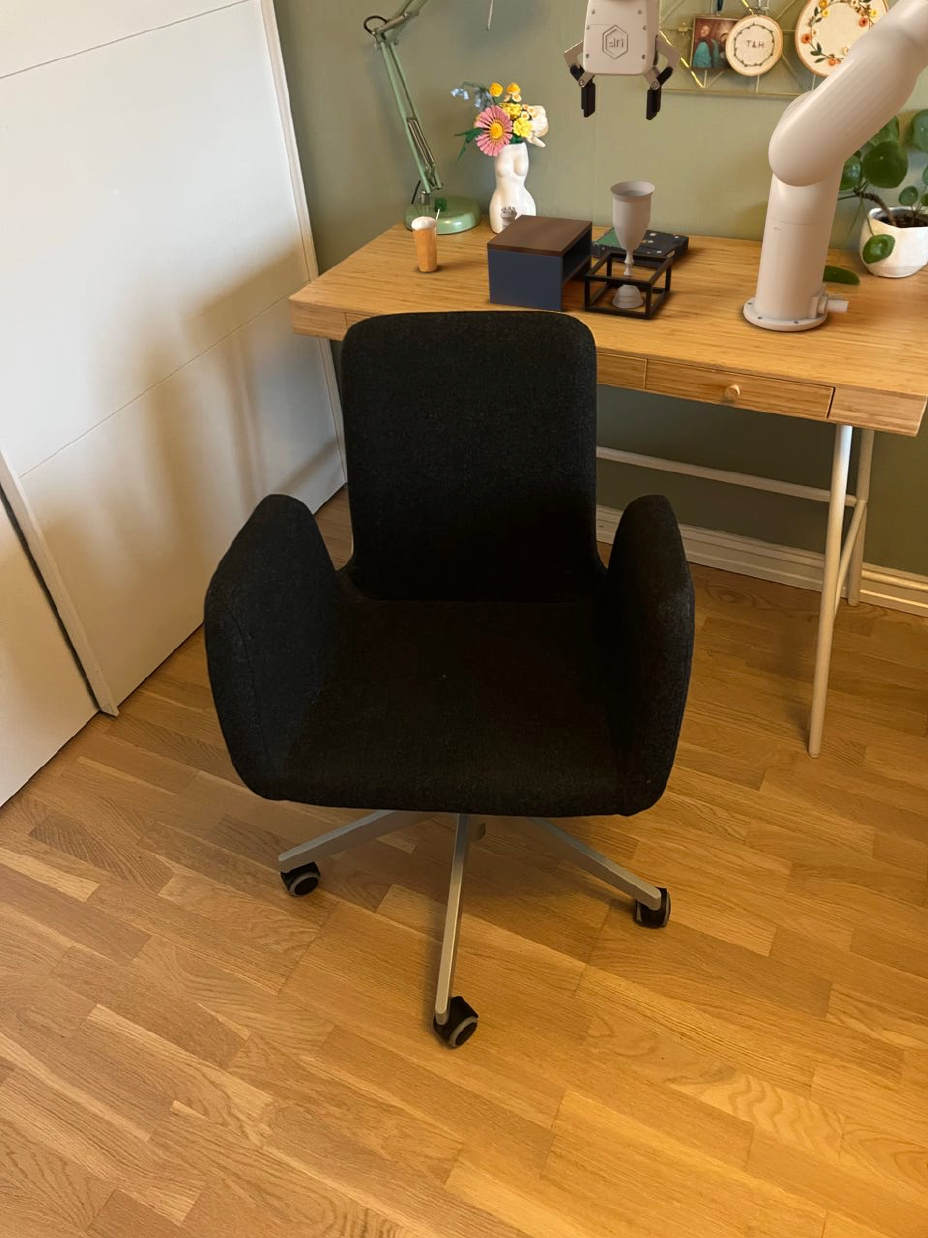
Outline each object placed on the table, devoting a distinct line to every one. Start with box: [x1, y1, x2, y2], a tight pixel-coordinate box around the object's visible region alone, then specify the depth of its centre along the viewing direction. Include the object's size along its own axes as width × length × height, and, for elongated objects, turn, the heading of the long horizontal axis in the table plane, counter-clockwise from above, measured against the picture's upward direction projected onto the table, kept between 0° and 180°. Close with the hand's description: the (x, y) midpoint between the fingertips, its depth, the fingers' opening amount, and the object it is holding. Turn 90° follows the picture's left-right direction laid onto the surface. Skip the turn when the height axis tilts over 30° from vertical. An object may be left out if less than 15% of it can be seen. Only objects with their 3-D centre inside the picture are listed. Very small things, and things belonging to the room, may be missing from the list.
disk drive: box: [592, 226, 690, 269], centre depth 174 cm, size 10×3×15 cm
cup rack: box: [583, 251, 674, 320], centre depth 157 cm, size 11×11×6 cm
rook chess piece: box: [499, 205, 518, 231], centre depth 177 cm, size 4×4×8 cm
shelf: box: [486, 214, 593, 313], centre depth 162 cm, size 13×14×10 cm
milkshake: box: [411, 209, 441, 273], centre depth 173 cm, size 4×5×10 cm
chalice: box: [610, 180, 656, 309], centre depth 154 cm, size 7×7×18 cm
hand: (620, 116), depth 142 cm, fingers open, 9 cm apart
